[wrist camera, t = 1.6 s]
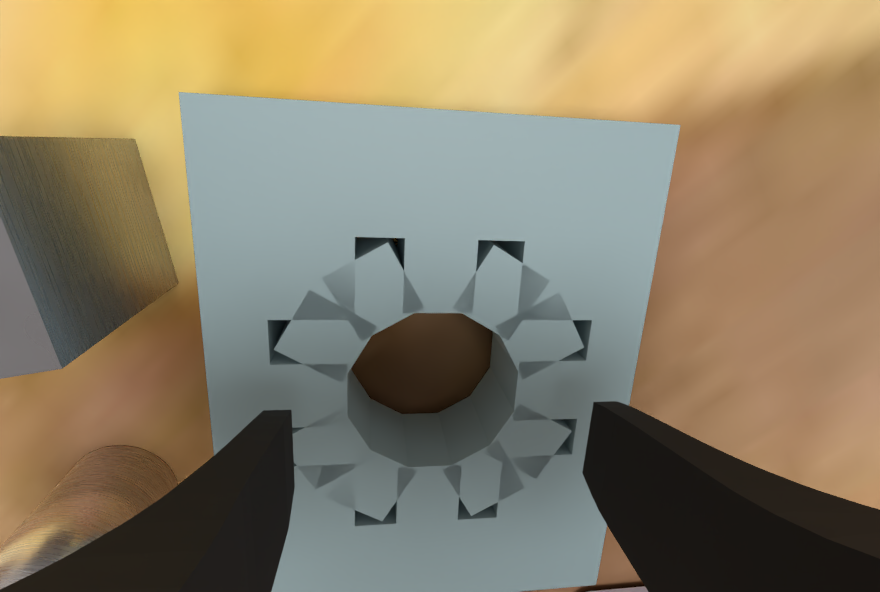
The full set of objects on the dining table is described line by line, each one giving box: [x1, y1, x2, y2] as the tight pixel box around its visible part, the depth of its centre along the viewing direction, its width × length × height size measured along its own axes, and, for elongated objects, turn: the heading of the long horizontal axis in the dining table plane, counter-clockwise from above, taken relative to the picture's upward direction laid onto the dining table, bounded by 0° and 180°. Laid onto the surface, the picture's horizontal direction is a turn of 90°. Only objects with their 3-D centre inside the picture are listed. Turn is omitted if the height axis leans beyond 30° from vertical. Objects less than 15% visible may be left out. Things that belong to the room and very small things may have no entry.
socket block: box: [179, 92, 680, 592], centre depth 15 cm, size 15×12×3 cm
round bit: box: [0, 446, 178, 589], centre depth 13 cm, size 3×3×7 cm
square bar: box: [0, 136, 178, 379], centre depth 11 cm, size 4×4×6 cm
